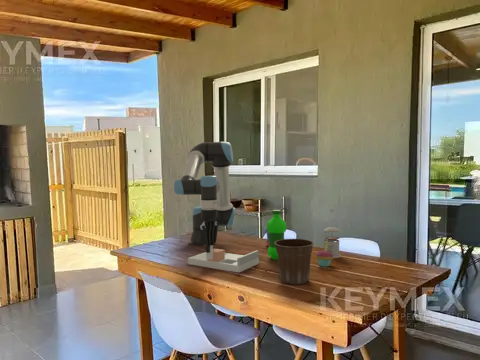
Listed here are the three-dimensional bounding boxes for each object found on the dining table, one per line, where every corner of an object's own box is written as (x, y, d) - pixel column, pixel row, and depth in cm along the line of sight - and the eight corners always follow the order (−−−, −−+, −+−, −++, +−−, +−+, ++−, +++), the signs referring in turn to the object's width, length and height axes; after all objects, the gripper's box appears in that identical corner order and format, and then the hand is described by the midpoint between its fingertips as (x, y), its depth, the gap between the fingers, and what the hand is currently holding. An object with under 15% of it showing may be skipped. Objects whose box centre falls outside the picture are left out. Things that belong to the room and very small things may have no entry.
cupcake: (321, 262, 188) (321, 238, 187) (337, 265, 182) (337, 240, 181) (311, 265, 182) (311, 240, 181) (327, 268, 176) (327, 243, 175)
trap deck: (187, 263, 187) (187, 250, 187) (209, 256, 202) (209, 244, 202) (239, 272, 171) (239, 258, 171) (258, 263, 186) (258, 250, 186)
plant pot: (287, 288, 148) (287, 248, 148) (267, 277, 163) (267, 240, 162) (321, 283, 155) (321, 244, 154) (300, 273, 170) (299, 237, 169)
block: (207, 260, 182) (207, 250, 182) (214, 257, 187) (214, 248, 187) (217, 261, 179) (217, 252, 179) (224, 259, 184) (224, 249, 184)
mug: (261, 246, 226) (261, 228, 226) (271, 243, 233) (271, 226, 232) (277, 249, 218) (277, 230, 217) (287, 246, 224) (287, 228, 224)
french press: (330, 258, 194) (329, 210, 194) (316, 254, 205) (316, 208, 204) (345, 256, 199) (345, 209, 198) (331, 252, 209) (331, 207, 208)
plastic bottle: (290, 257, 197) (290, 210, 196) (278, 261, 189) (278, 212, 188) (275, 254, 204) (274, 208, 203) (263, 258, 196) (262, 210, 195)
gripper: (207, 210, 169) (207, 263, 170) (223, 207, 180) (224, 257, 181) (193, 210, 173) (194, 261, 174) (210, 207, 184) (211, 255, 185)
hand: (209, 259), depth 177 cm, fingers closed
